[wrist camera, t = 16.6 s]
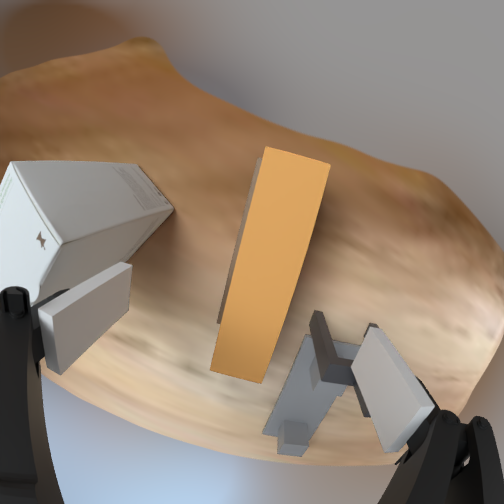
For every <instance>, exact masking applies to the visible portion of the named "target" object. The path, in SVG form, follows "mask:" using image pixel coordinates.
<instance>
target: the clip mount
mask: <svg viewBox="0 0 504 504" xmlns="http://www.w3.org/2000/svg"><path fill="white" fill-rule="evenodd" d="M332 341H333V344H334V347H335V350H336V353H337V356H338V357H339V358H345V359H351V360H354V359H355V357H356V355H357V353H358V351H359V349H360V347H361V346H360V345H355V344H350V343H345V342H339V341H335V340H332ZM346 387H347V385H342V384H335V383H329V382H323V381H321V378H320V373H319V368H318V364H317V359H316V354H315V349H314V345H313V340H312V336H311V335H307V334H305V336H304V339H303V341H302V344H301V346H300V349H299V351H298V354H297V356H296V358H295V361H294V363H293V366H292V368H291V370H290V373H289V375H288V377H287V380H286V382H285V384H284V387H283V389H282V391H281V393H280V395H279V398H278V400H277V402H276V404H275V406H274V409H273V411H272V413H271V415H270V417H269V419H268V421H267V423H266V425H265V427H264V429H263V431H262V434H264V435H270V436H276V437H278V449H277V454H282V455H290V456H298V457H302V455H303V454H304V453H305V451H306V450H307V448H308V447H309V440H310V438H311V437H312V435H313V434H314V432H315V431H316V429H317V428H318V426H319V424H320V423H321V421H322V420H323V418H324V416H325V415H326V413H327V412H328V410H329V408H330V407H331V405H332V403H333V402H334V400H335V398H336V396H342V394H343V392H344V391H345V389H346Z"/></svg>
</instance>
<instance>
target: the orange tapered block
mask: <svg viewBox="0 0 504 504" xmlns="http://www.w3.org/2000/svg"><path fill="white" fill-rule="evenodd" d="M329 169H330V164H327V163H324V162H321V161H318V160H314V159H311V158H307V157H304V156H300V155H297V154H293V153H290V152H286V151H282V150H278V149H274V148H270V147H265V151H264V155H263V158H262V162H261V166H260V170H259V174H258V177H257V181H256V185H255V189H254V193H253V197H252V201H251V204H250V208H249V212H248V216H247V220H246V224H245V228H244V232H243V236H242V240H241V244H240V248H239V252H238V256H237V260H236V264H235V268H234V272H233V276H232V280H231V284H230V288H229V292H228V296H227V300H226V304H225V308H224V312H223V317H222V321H221V325H220V329H219V333H218V337H217V342H216V346H215V350H214V354H213V358H212V363H211V367H210V371H214V372H217V373H221V374H225V375H228V376H232V377H236V378H240V379H244V380H248V381H252V382H256V383H260V384H261V383H262V381H263V378H264V376H265V373H266V370H267V368H268V365H269V362H270V359H271V357H272V354H273V351H274V348H275V346H276V343H277V340H278V337H279V334H280V332H281V329H282V326H283V323H284V320H285V317H286V314H287V311H288V308H289V305H290V302H291V299H292V296H293V293H294V290H295V287H296V284H297V281H298V278H299V274H300V271H301V268H302V265H303V262H304V258H305V255H306V252H307V248H308V245H309V242H310V238H311V235H312V232H313V228H314V225H315V221H316V218H317V214H318V211H319V207H320V203H321V200H322V196H323V192H324V189H325V185H326V181H327V177H328V173H329Z"/></svg>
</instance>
